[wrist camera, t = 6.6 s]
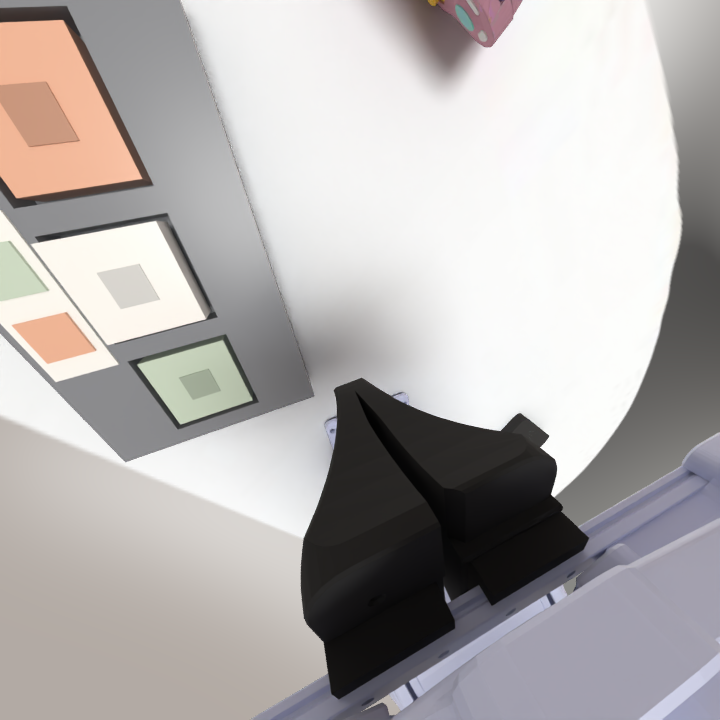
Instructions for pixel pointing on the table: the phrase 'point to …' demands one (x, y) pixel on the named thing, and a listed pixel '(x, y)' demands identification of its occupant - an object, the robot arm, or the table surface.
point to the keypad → (141, 205)
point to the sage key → (198, 378)
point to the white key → (127, 279)
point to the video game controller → (481, 16)
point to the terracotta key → (59, 118)
